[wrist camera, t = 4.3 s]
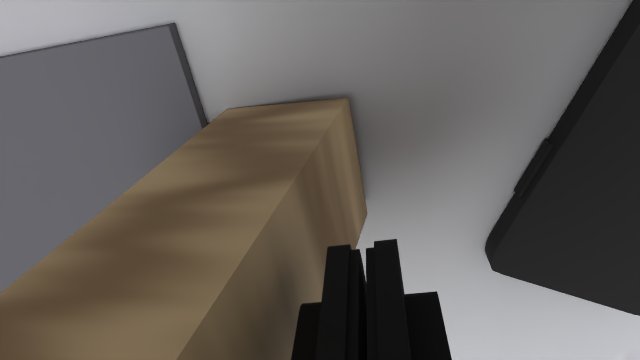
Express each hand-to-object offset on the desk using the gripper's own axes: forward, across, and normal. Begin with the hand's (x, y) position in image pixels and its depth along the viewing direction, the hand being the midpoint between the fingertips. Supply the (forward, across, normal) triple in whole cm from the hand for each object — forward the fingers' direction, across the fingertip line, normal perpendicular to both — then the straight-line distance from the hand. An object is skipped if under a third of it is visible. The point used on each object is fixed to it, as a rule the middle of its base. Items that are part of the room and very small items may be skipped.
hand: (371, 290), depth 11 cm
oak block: (+8, +3, 0) cm, 8 cm away
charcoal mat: (+8, +14, 0) cm, 16 cm away
